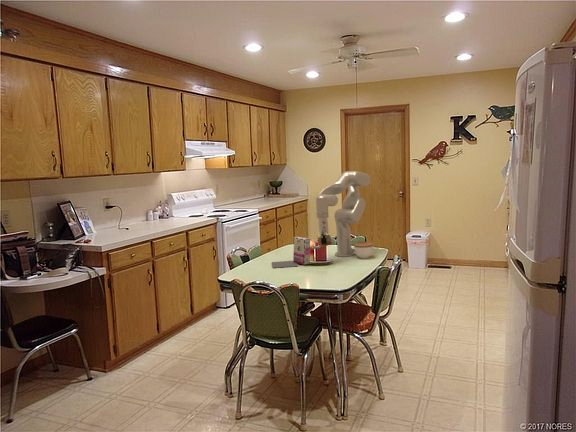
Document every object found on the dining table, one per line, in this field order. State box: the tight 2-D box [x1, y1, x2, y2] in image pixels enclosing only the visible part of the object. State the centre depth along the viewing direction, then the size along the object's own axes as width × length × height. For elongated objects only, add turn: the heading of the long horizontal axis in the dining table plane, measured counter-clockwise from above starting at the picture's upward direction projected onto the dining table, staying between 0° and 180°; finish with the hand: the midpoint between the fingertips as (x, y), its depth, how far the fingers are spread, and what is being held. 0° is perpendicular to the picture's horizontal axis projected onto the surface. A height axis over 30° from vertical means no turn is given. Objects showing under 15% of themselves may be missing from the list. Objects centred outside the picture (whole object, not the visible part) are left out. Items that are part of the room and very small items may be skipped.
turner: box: [310, 234, 333, 251], centre depth 286 cm, size 13×5×6 cm, turn 93°
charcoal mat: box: [271, 260, 298, 269], centre depth 286 cm, size 16×15×1 cm
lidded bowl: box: [353, 240, 374, 260], centre depth 294 cm, size 13×13×11 cm
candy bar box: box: [292, 236, 311, 266], centre depth 286 cm, size 11×5×16 cm, turn 37°
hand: (323, 243), depth 286 cm, fingers closed on turner, 2 cm apart
